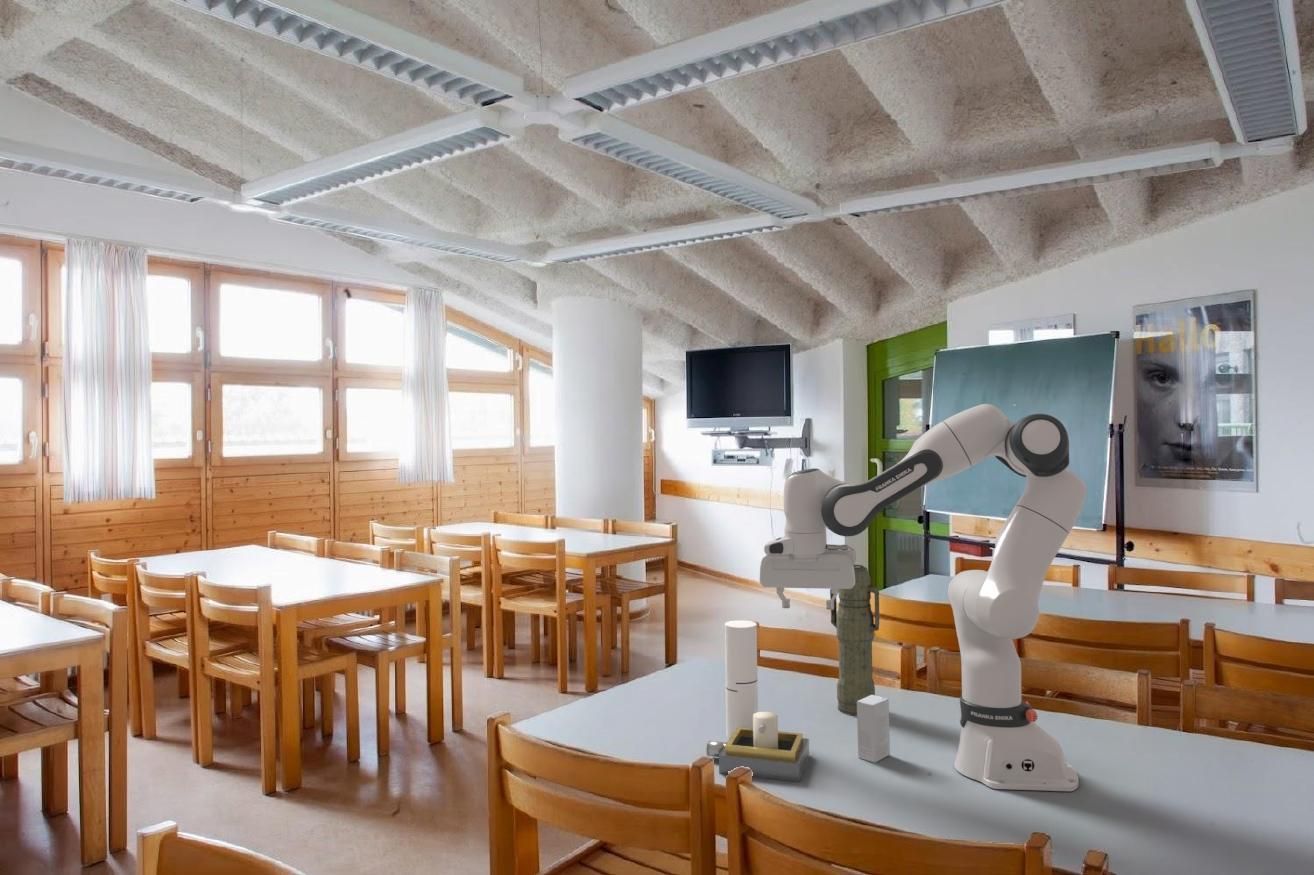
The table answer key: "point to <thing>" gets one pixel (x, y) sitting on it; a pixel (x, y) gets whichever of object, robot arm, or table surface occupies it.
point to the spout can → (765, 730)
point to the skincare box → (873, 728)
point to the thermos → (855, 640)
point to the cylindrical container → (740, 674)
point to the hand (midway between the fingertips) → (808, 608)
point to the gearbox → (762, 755)
